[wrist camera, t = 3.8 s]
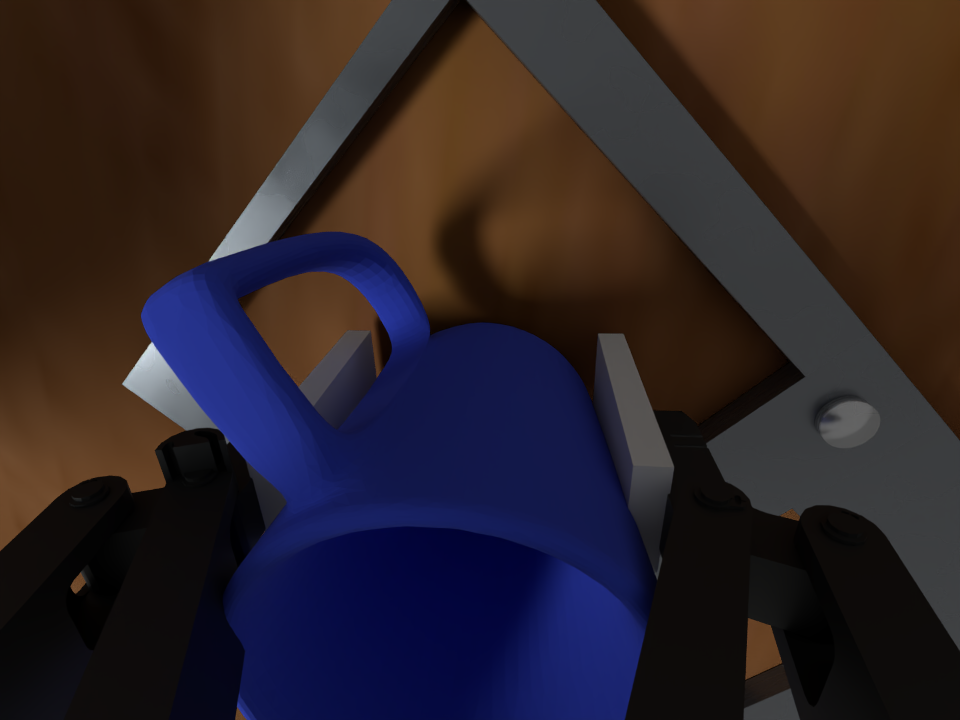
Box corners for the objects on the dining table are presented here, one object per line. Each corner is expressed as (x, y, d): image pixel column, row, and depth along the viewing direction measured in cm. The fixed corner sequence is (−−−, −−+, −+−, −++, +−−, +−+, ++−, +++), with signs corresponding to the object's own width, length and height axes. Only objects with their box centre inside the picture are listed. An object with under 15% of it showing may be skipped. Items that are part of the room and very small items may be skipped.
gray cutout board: (141, 370, 19) (113, 389, 17) (489, -115, 12) (483, -141, 11) (674, 760, 26) (681, 793, 25) (1078, 592, 19) (1116, 626, 18)
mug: (475, 117, 14) (376, 128, 5) (647, 449, 18) (758, 780, 9) (250, 258, 16) (-86, 436, 8) (447, 525, 21) (380, 848, 12)
